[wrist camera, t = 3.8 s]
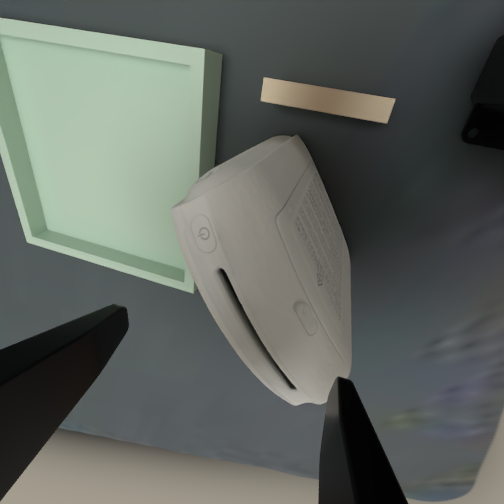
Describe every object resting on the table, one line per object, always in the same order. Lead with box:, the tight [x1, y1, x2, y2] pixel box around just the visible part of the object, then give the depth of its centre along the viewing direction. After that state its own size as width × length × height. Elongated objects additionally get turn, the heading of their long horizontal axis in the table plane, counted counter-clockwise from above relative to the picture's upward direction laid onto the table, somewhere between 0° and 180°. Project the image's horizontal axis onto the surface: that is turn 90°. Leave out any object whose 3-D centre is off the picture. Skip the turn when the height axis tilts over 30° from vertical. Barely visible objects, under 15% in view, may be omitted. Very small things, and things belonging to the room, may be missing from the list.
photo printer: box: [171, 135, 352, 406], centre depth 15 cm, size 10×4×12 cm, turn 28°
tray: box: [0, 18, 223, 293], centre depth 21 cm, size 16×16×2 cm
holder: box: [261, 77, 396, 124], centre depth 18 cm, size 6×14×4 cm, turn 172°
